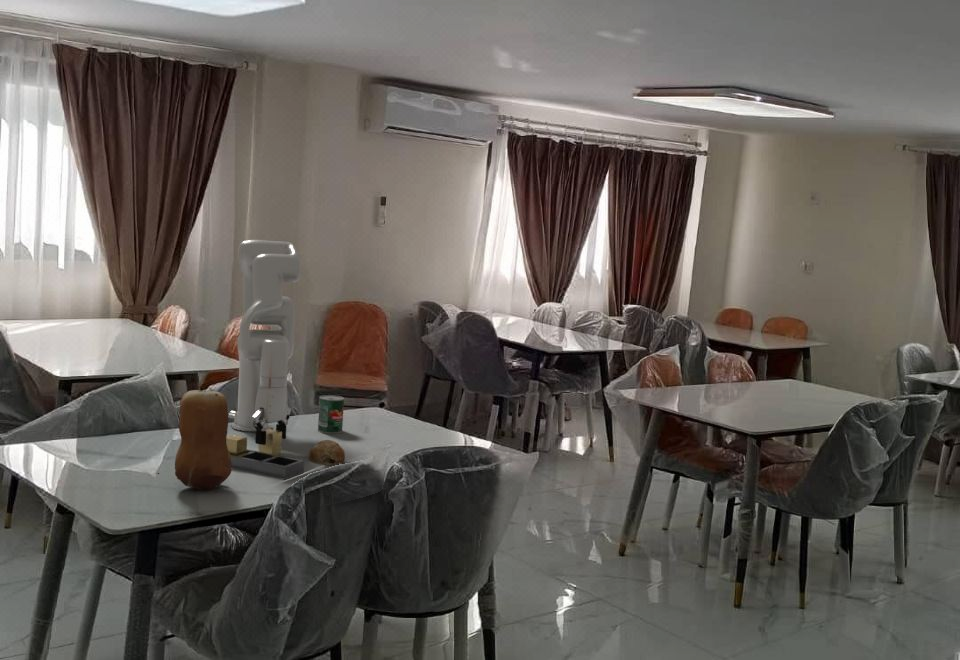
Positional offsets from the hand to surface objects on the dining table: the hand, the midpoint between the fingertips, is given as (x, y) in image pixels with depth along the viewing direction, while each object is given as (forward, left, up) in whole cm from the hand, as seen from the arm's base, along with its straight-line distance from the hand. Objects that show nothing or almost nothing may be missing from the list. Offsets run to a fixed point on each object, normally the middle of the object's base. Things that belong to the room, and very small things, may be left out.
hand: (270, 441), depth 281 cm
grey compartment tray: (+6, -14, -4) cm, 15 cm away
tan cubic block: (0, 0, -4) cm, 4 cm away
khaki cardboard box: (-2, -14, -4) cm, 14 cm away
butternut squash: (+6, -37, -4) cm, 37 cm away
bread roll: (+15, +6, -5) cm, 17 cm away
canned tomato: (-3, +37, -5) cm, 38 cm away
